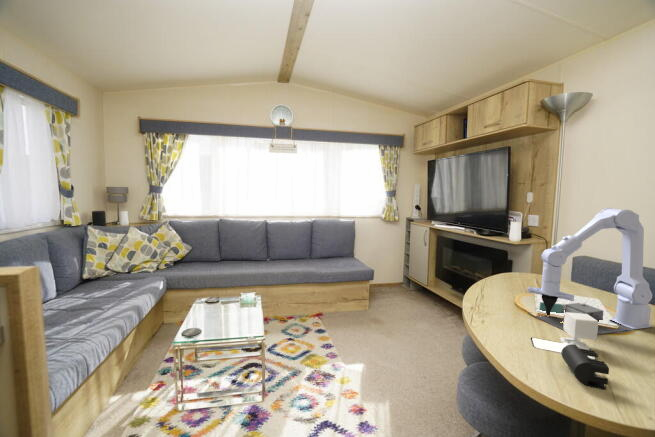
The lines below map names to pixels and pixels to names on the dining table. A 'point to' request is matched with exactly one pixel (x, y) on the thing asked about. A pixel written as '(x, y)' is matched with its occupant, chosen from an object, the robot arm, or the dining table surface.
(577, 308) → the housing
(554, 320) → the mat
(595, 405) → the dining table surface
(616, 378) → the dining table surface
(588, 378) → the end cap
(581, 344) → the security camera
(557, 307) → the side door
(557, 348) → the smartphone
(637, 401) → the dining table surface
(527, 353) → the dining table surface
